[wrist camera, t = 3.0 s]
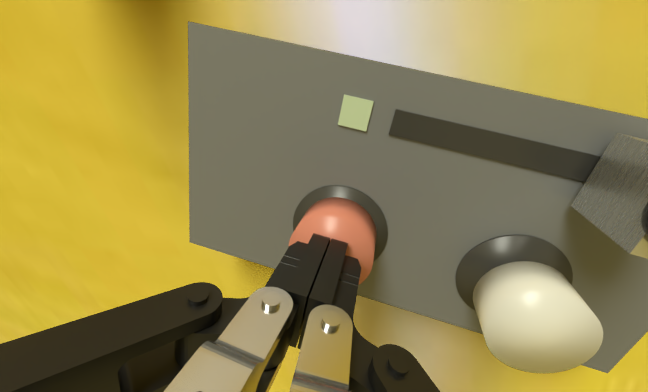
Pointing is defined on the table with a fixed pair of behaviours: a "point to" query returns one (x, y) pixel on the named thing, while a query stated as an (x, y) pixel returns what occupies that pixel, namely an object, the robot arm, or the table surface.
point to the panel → (404, 175)
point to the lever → (619, 194)
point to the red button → (341, 229)
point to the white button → (535, 318)
